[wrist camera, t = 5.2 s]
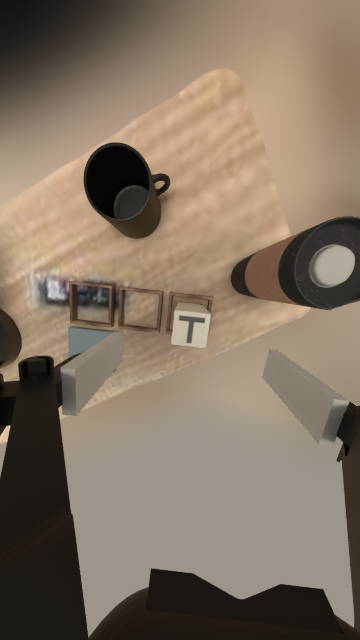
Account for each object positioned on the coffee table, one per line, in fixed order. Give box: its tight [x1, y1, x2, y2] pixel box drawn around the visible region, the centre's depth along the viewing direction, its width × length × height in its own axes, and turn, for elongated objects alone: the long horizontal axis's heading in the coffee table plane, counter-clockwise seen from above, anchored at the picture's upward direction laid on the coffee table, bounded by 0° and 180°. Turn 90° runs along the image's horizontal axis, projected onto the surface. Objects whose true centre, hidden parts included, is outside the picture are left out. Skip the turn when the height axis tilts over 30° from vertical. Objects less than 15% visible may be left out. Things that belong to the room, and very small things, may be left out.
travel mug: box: [231, 216, 360, 310], centre depth 24 cm, size 8×8×20 cm
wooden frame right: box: [166, 292, 213, 334], centre depth 34 cm, size 8×8×2 cm
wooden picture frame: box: [69, 281, 115, 327], centre depth 35 cm, size 8×8×2 cm
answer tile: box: [69, 327, 116, 371], centre depth 37 cm, size 10×9×1 cm
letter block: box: [171, 302, 211, 348], centre depth 29 cm, size 5×5×12 cm
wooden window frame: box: [118, 287, 163, 333], centre depth 34 cm, size 8×8×2 cm
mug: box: [84, 143, 170, 238], centre depth 27 cm, size 9×12×9 cm
